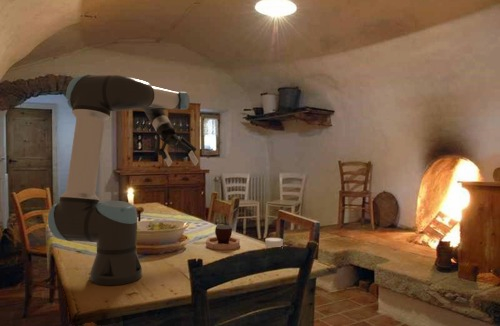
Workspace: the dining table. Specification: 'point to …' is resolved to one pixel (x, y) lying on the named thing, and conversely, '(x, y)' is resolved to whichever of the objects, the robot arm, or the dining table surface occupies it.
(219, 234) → the mate gourd
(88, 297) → the dining table surface
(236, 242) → the ring saucer
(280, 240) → the white cup
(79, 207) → the robot arm
